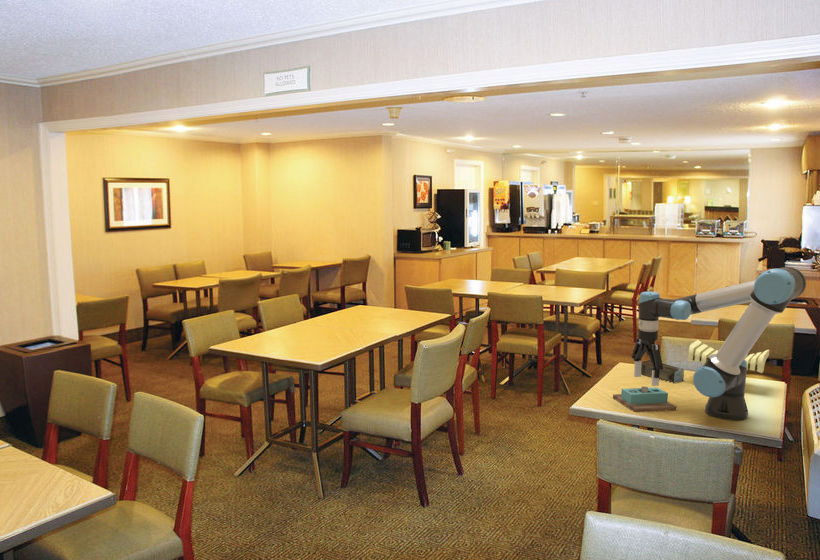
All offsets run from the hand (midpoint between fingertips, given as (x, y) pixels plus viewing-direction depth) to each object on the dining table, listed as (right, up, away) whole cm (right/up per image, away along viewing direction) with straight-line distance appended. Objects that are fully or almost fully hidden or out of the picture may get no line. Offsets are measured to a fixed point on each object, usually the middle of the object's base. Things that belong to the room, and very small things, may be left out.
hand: (646, 381), depth 261 cm
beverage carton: (+22, -5, +41) cm, 47 cm away
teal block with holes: (0, -8, +1) cm, 8 cm away
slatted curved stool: (+47, -7, +29) cm, 55 cm away
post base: (0, -10, +2) cm, 10 cm away
